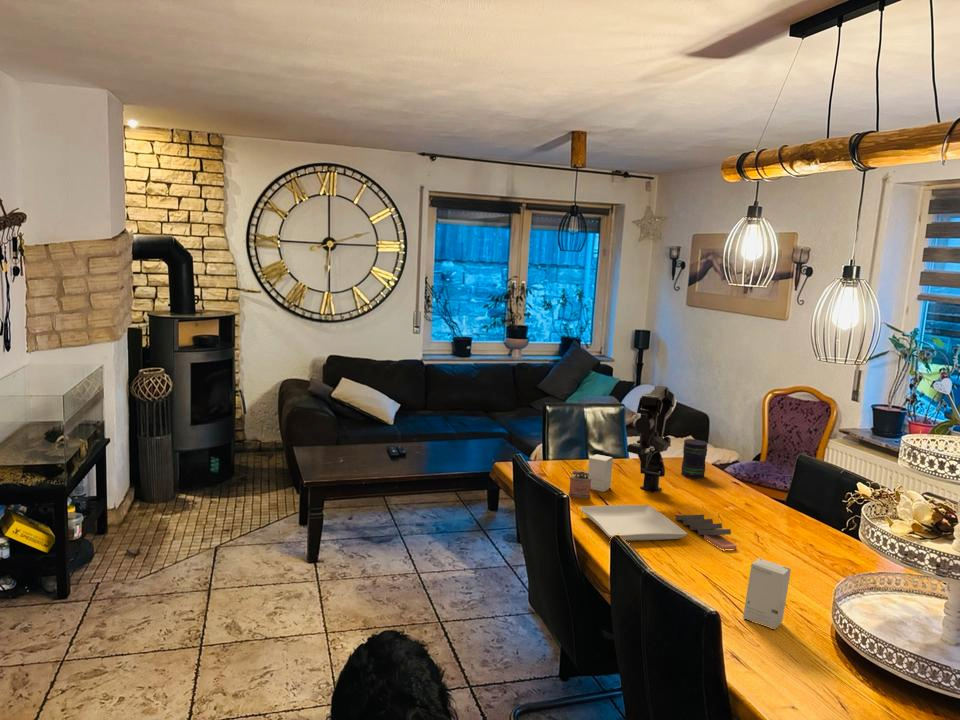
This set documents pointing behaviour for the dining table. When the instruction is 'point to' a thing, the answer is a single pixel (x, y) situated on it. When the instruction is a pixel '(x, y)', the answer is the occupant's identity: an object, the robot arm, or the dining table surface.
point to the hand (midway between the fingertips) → (644, 468)
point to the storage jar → (694, 458)
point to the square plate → (633, 522)
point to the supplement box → (600, 472)
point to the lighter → (580, 484)
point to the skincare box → (766, 593)
